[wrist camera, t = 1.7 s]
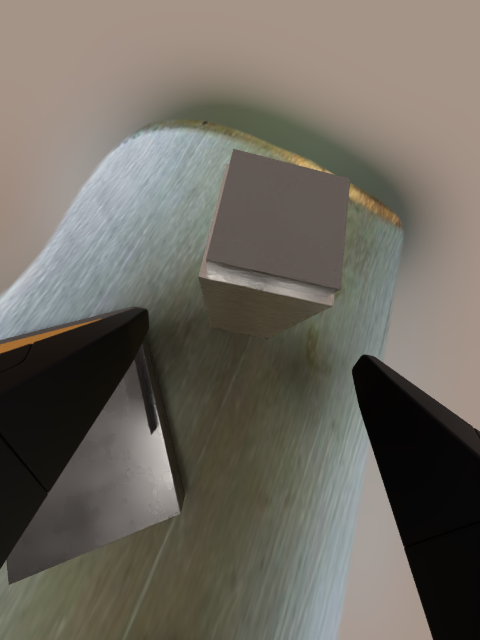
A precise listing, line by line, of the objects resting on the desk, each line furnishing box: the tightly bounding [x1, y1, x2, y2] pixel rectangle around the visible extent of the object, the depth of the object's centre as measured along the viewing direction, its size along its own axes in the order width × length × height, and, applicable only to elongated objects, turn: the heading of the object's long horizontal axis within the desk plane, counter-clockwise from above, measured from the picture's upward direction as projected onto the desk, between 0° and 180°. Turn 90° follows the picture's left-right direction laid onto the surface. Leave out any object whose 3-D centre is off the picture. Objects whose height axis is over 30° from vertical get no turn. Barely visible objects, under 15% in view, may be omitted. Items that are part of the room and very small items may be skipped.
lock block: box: [198, 149, 350, 339], centre depth 14 cm, size 6×6×13 cm
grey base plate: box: [0, 307, 185, 585], centre depth 15 cm, size 16×11×4 cm
